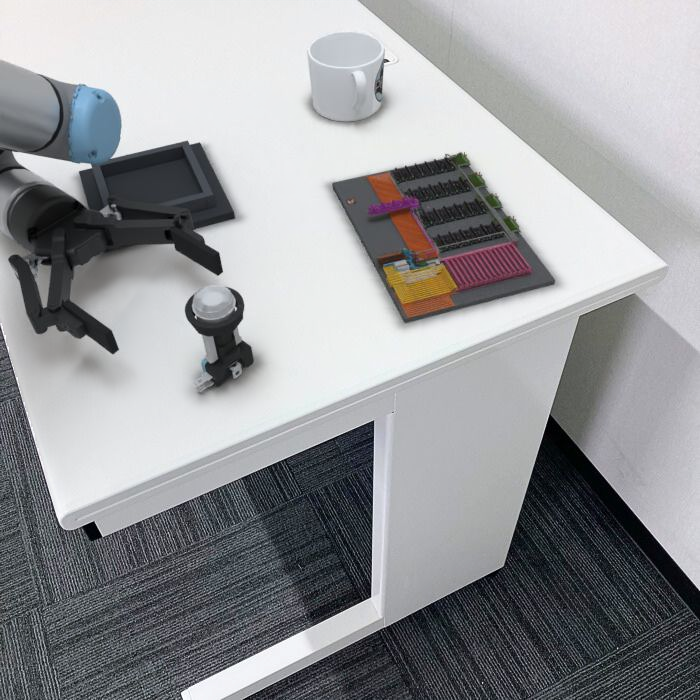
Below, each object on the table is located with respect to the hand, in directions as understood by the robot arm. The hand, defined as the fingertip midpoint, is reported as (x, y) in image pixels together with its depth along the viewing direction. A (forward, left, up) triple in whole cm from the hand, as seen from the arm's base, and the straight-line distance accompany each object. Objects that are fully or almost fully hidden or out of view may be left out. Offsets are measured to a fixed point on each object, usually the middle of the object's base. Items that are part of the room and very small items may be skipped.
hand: (168, 301), depth 72 cm
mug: (+33, +34, -6) cm, 48 cm away
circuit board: (+32, +5, -6) cm, 33 cm away
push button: (+3, -6, -6) cm, 9 cm away
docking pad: (+3, +25, -6) cm, 26 cm away
